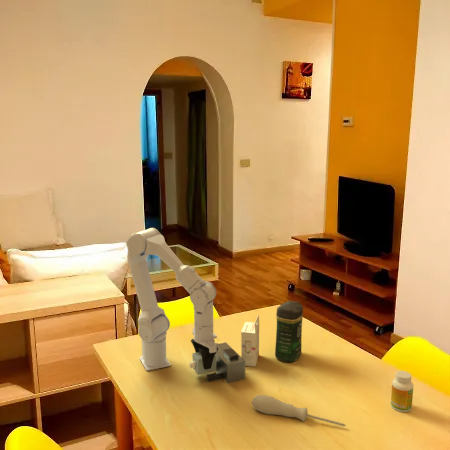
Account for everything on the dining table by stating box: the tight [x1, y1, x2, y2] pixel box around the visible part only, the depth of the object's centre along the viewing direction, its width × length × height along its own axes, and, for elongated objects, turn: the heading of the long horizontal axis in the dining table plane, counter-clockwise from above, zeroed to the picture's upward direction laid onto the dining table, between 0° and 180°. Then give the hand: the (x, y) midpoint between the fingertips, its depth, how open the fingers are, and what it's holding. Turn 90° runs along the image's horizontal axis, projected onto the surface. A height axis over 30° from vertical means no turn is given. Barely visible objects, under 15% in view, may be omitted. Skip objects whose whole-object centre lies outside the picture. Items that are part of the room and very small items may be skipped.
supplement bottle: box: [390, 370, 414, 413], centre depth 126 cm, size 5×5×10 cm
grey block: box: [189, 352, 217, 376], centre depth 142 cm, size 4×8×5 cm, turn 115°
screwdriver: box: [251, 394, 346, 427], centre depth 122 cm, size 5×25×4 cm, turn 68°
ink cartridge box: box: [240, 314, 260, 367], centre depth 152 cm, size 9×5×15 cm, turn 168°
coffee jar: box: [274, 300, 304, 363], centre depth 154 cm, size 10×8×19 cm
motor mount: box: [206, 342, 246, 384], centre depth 145 cm, size 16×11×7 cm
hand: (204, 364), depth 142 cm, fingers closed on grey block, 4 cm apart
